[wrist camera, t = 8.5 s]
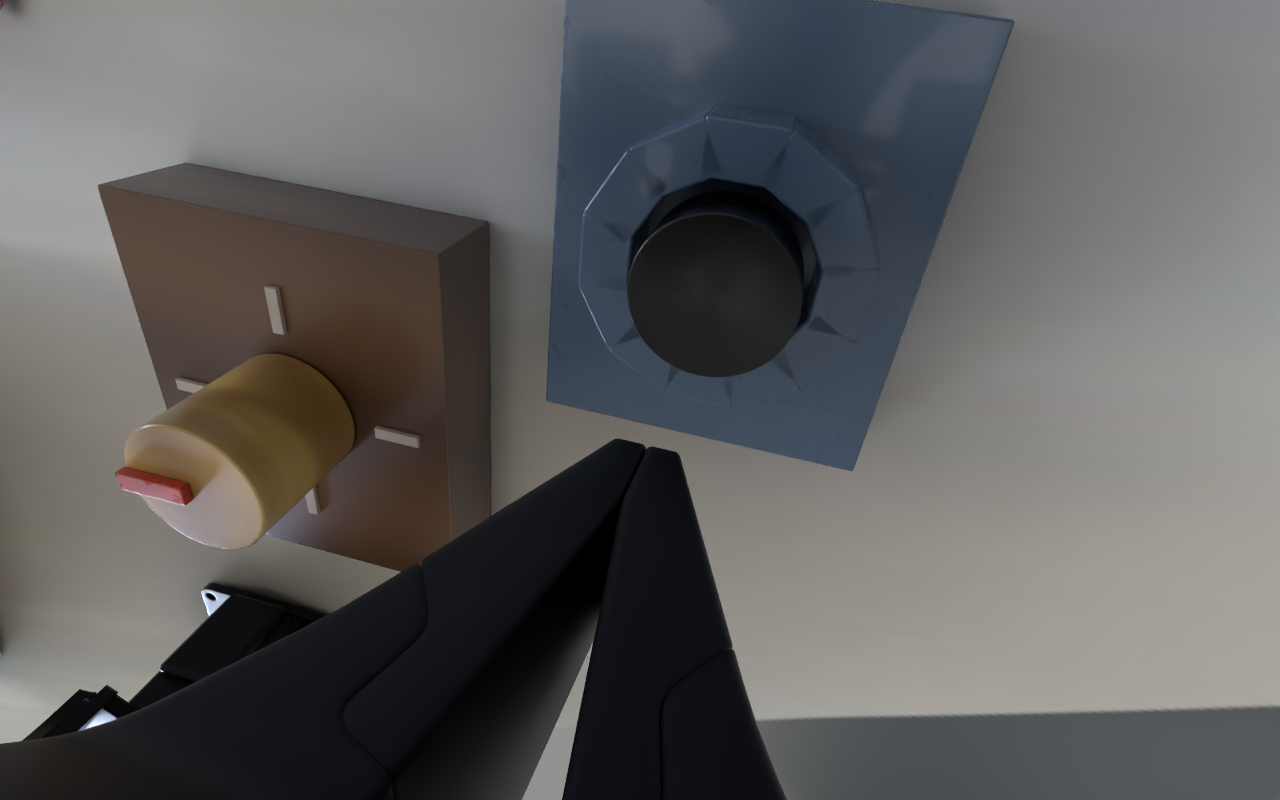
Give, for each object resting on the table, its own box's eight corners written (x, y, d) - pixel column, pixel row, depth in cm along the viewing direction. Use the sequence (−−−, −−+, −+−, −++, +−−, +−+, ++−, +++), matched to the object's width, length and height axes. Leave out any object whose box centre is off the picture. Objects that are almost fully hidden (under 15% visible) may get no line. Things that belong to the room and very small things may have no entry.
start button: (783, 358, 16) (779, 394, 14) (636, 326, 16) (618, 358, 15) (823, 206, 14) (822, 230, 12) (654, 176, 14) (636, 197, 13)
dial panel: (491, 529, 26) (452, 590, 23) (258, 468, 27) (196, 520, 24) (489, 221, 19) (435, 256, 17) (184, 161, 21) (89, 185, 18)
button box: (851, 438, 20) (855, 514, 17) (564, 374, 21) (522, 434, 18) (996, 18, 14) (1042, 22, 11) (589, -37, 15) (534, -45, 12)
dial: (346, 367, 19) (236, 452, 16) (363, 476, 21) (269, 573, 18) (223, 340, 20) (89, 416, 16) (251, 449, 22) (138, 537, 18)
